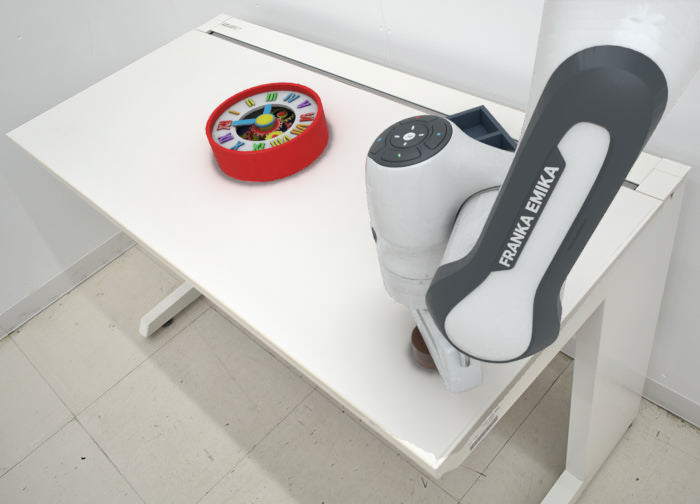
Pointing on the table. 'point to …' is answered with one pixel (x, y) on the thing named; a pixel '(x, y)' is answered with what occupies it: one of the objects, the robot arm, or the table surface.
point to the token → (421, 350)
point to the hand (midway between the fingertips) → (433, 342)
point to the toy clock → (268, 131)
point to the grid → (483, 128)
